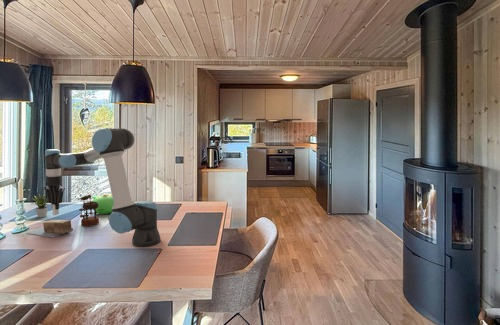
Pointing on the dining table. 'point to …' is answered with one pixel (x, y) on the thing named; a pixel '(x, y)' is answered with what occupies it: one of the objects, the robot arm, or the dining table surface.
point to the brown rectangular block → (57, 226)
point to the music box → (92, 219)
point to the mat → (44, 233)
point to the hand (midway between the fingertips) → (55, 214)
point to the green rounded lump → (104, 203)
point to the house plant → (41, 206)
